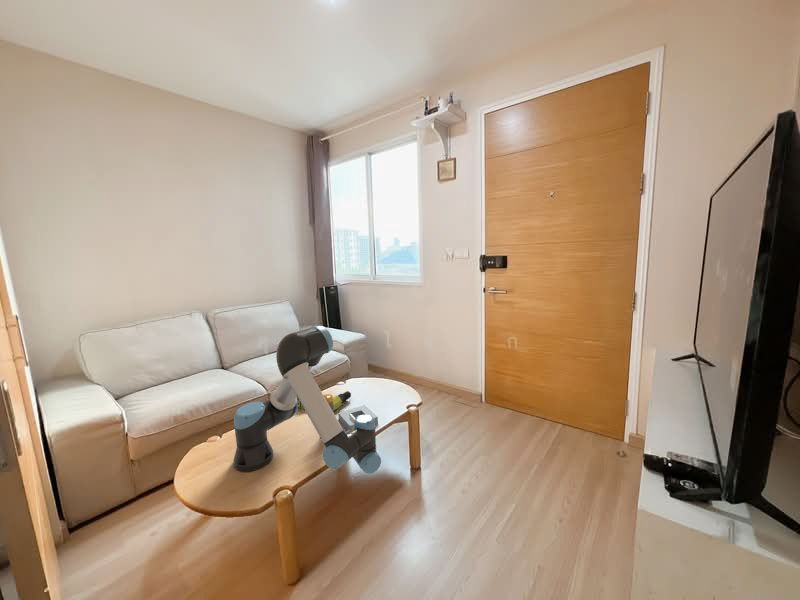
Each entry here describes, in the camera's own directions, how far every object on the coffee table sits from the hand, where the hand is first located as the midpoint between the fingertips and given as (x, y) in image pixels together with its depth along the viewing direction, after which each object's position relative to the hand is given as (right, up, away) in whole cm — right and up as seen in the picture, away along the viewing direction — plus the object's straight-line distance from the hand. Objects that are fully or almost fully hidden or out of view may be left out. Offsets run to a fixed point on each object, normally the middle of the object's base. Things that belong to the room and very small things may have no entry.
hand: (336, 420), depth 147 cm
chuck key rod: (-5, -9, +10) cm, 15 cm away
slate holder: (+7, -7, +19) cm, 22 cm away
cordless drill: (-14, -5, +39) cm, 41 cm away
